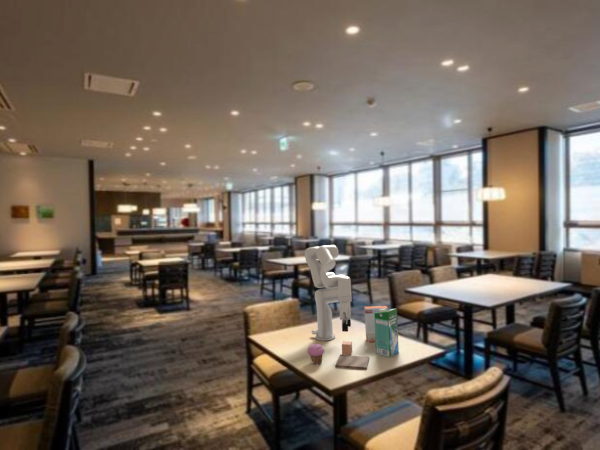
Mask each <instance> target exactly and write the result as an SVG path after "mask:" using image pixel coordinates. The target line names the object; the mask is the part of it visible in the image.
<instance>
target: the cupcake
mask: <svg viewBox="0 0 600 450" xmlns="http://www.w3.org/2000/svg"><path fill="white" fill-rule="evenodd" d="M307 353H308V355H309V356H310V360H311V362H312V364H314V365H319V364H322V362H323V355H324V354H325V349H324V347H323V346H322V345H321V344H320V343H313V344H311V345H309V346H308V348H307Z"/></svg>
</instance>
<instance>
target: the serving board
mask: <svg viewBox="0 0 600 450" xmlns="http://www.w3.org/2000/svg"><path fill="white" fill-rule="evenodd" d="M369 361H370V356H365V355H364V356H363V355H352V354H351V355H342V354H340V355H339V356H338V358H337V360H336V362H335V365H334V367H335V368H341V369H353V370H367V369H368V366H369Z"/></svg>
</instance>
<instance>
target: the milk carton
mask: <svg viewBox="0 0 600 450" xmlns="http://www.w3.org/2000/svg"><path fill="white" fill-rule="evenodd" d="M374 314H375V337H376V342H375V354H377V355H381V356H384V357H388V358H391V357H393V356H396V355H397V354H398V353H400V352H399V349H400V348H399V329H398V308H388V310H386V308H384V309H380V310H379V312H377V313H374Z"/></svg>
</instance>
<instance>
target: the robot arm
mask: <svg viewBox="0 0 600 450" xmlns="http://www.w3.org/2000/svg"><path fill="white" fill-rule="evenodd" d="M339 253H340V252H339V249H338V247H337V246H336V245H335V244H330V245H329V244H328V245H320V246H310V247H308V248H306V249H305V250H304V258H305V262H306V264H307V265H308V267H309V270H310V274H311V278H312V282H313V285H314V287H315V288H319V289H317V290H316V291H315V292H314V300H315V305H316V320H317V321H316V323H317V329H316V330H314V329H313V330H311V335H315V339H316V340H318V341H323V342H325V341H327V342H328V341H333V340H334V339H335V338H336V334H334V333H333V313H332V308H331V307H330V305H329V304H332V303H339V320H341V328H342V329H341V331H342V332H346V333H347V332H348V331H349V327H352V322H351V320H352V319H351V315H352V313H351V302H352V301H353V300H352V299H353V298H352V281H351V280H352V279H351V278H350V276H347V275H345V274H335V273H334V272H333V271H331V270H332V269H334V268H335V266H336V261H335V258H338V256H339Z"/></svg>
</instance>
